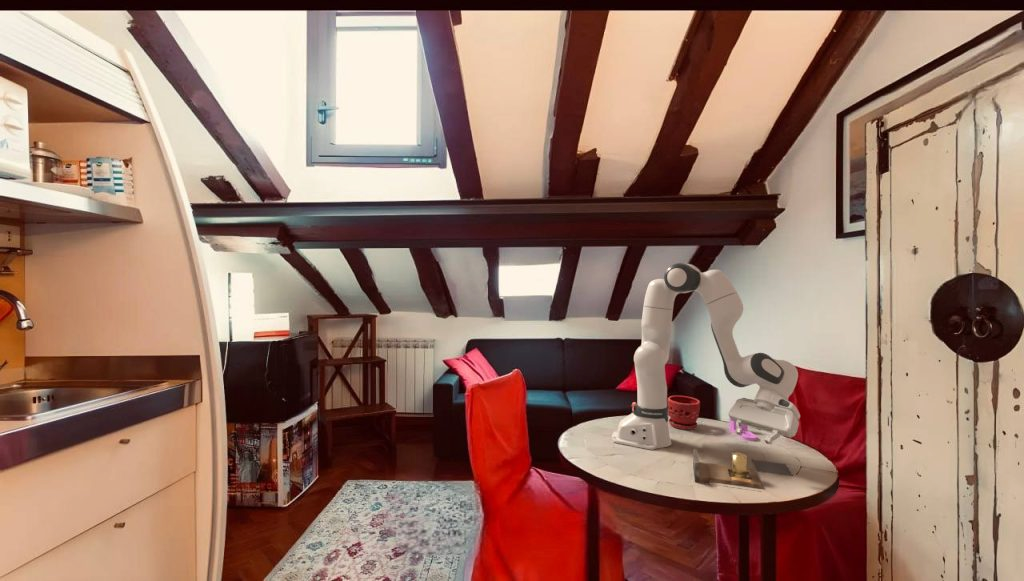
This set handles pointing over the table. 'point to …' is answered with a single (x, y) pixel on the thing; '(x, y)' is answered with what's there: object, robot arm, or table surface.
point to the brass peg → (739, 465)
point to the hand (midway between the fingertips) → (752, 438)
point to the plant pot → (683, 411)
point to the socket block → (721, 474)
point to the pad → (772, 467)
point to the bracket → (746, 434)
